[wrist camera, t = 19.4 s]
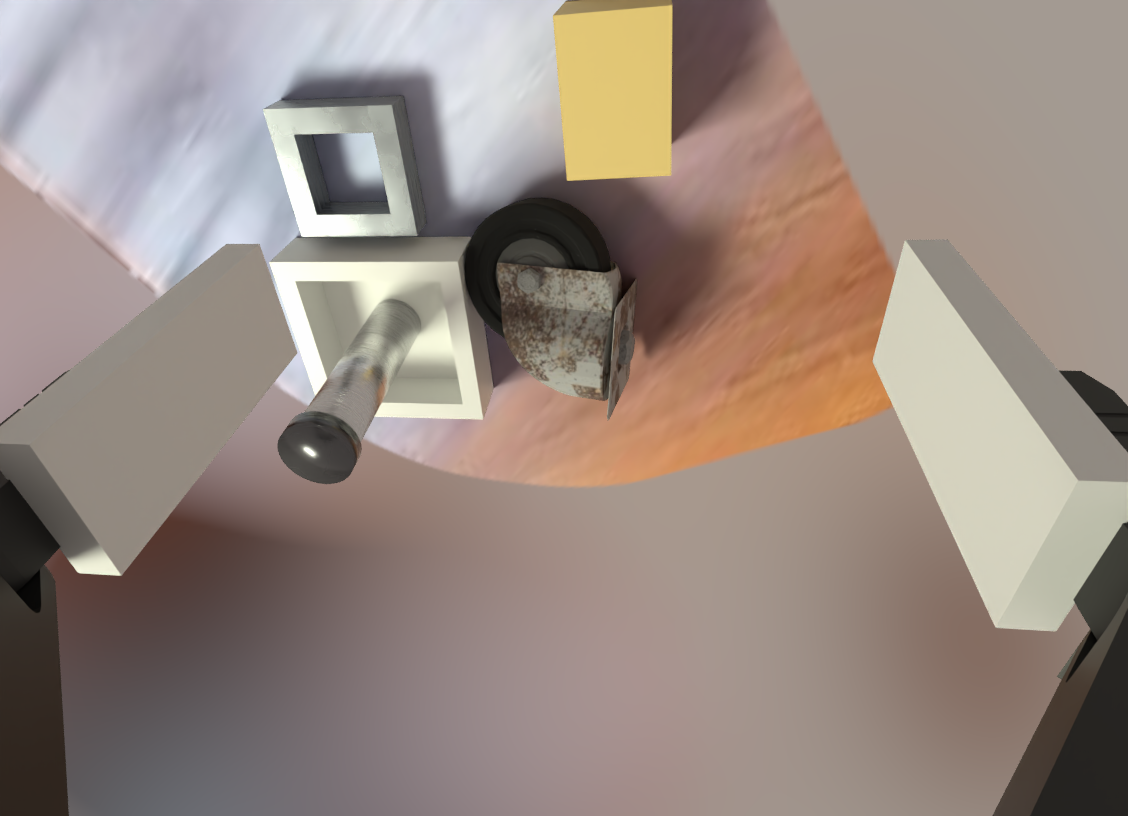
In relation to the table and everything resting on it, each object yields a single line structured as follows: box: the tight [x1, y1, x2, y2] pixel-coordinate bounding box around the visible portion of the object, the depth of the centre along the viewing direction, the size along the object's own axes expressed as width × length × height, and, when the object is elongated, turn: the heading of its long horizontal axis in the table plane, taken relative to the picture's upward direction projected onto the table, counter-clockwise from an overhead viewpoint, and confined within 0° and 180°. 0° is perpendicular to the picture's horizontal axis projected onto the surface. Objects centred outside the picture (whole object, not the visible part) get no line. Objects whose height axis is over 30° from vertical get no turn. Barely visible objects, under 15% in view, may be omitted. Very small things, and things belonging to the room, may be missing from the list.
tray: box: [269, 237, 494, 419], centre depth 43 cm, size 11×11×4 cm
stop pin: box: [278, 299, 421, 484], centre depth 38 cm, size 4×4×13 cm
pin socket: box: [263, 96, 427, 237], centre depth 37 cm, size 7×7×2 cm
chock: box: [553, 0, 672, 181], centre depth 32 cm, size 7×5×5 cm
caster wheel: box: [464, 198, 637, 420], centre depth 39 cm, size 7×11×10 cm
